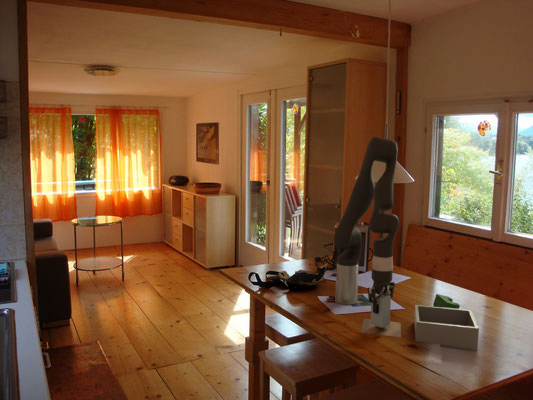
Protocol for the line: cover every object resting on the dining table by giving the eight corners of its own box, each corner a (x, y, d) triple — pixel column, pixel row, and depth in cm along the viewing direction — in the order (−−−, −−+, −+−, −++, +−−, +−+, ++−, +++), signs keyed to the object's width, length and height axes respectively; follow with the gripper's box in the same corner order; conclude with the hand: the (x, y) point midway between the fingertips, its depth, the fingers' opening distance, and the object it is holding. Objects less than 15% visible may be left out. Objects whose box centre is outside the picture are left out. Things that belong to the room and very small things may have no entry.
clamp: (452, 324, 192) (462, 309, 188) (438, 321, 192) (448, 305, 188) (444, 304, 203) (454, 289, 198) (431, 301, 202) (440, 286, 198)
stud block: (361, 335, 171) (361, 318, 170) (363, 321, 184) (364, 305, 183) (400, 339, 167) (401, 322, 166) (400, 325, 180) (401, 309, 180)
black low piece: (270, 280, 237) (270, 265, 236) (323, 275, 247) (323, 261, 246) (286, 294, 216) (286, 278, 215) (343, 288, 226) (344, 272, 225)
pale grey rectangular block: (370, 323, 176) (371, 295, 174) (378, 320, 179) (379, 292, 178) (381, 327, 172) (382, 298, 171) (389, 324, 175) (390, 295, 174)
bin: (415, 343, 164) (416, 322, 163) (414, 324, 181) (415, 304, 180) (477, 351, 158) (478, 328, 157) (469, 330, 176) (471, 310, 175)
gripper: (385, 262, 180) (383, 304, 182) (361, 268, 171) (360, 313, 173) (402, 266, 174) (400, 310, 176) (378, 273, 165) (376, 319, 167)
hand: (380, 311), depth 175 cm, fingers closed on pale grey rectangular block, 5 cm apart
